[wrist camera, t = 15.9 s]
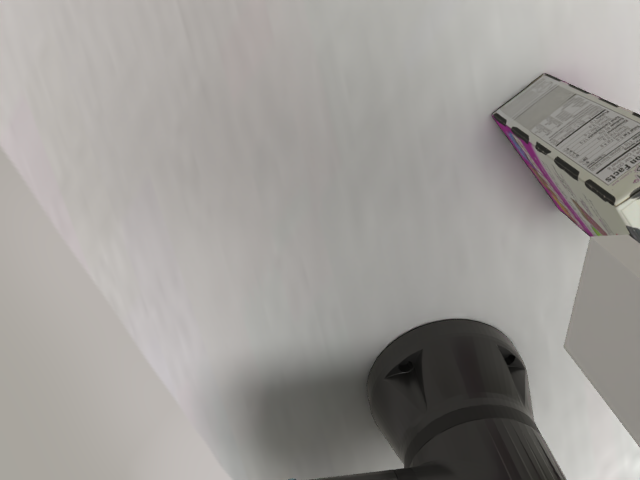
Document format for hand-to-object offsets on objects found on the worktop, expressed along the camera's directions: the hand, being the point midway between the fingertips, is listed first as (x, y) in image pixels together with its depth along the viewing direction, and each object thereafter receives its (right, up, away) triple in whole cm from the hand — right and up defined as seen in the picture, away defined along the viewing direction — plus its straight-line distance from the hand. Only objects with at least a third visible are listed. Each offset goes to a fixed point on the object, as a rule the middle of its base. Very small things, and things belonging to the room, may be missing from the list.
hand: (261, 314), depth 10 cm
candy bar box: (+19, +9, +30) cm, 37 cm away
